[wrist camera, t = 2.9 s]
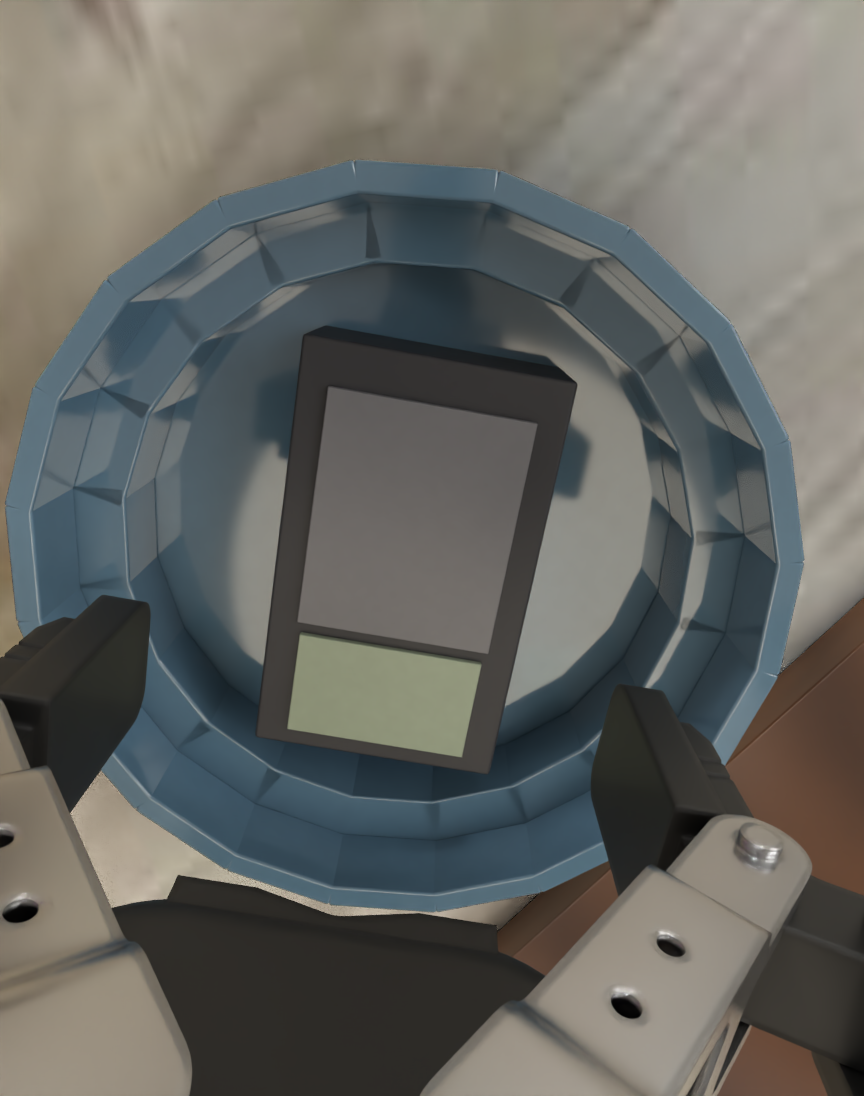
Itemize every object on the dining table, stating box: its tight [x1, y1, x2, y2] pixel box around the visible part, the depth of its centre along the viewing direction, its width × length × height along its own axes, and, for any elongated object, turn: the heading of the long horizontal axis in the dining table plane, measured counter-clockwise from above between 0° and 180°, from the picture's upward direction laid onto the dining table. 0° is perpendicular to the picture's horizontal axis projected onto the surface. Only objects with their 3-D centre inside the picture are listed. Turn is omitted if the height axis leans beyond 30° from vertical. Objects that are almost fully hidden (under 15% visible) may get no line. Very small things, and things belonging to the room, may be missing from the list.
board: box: [497, 598, 864, 1096], centre depth 26 cm, size 20×14×2 cm
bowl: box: [5, 159, 804, 912], centre depth 20 cm, size 17×17×5 cm
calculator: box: [255, 326, 577, 774], centre depth 21 cm, size 10×6×3 cm, turn 170°
